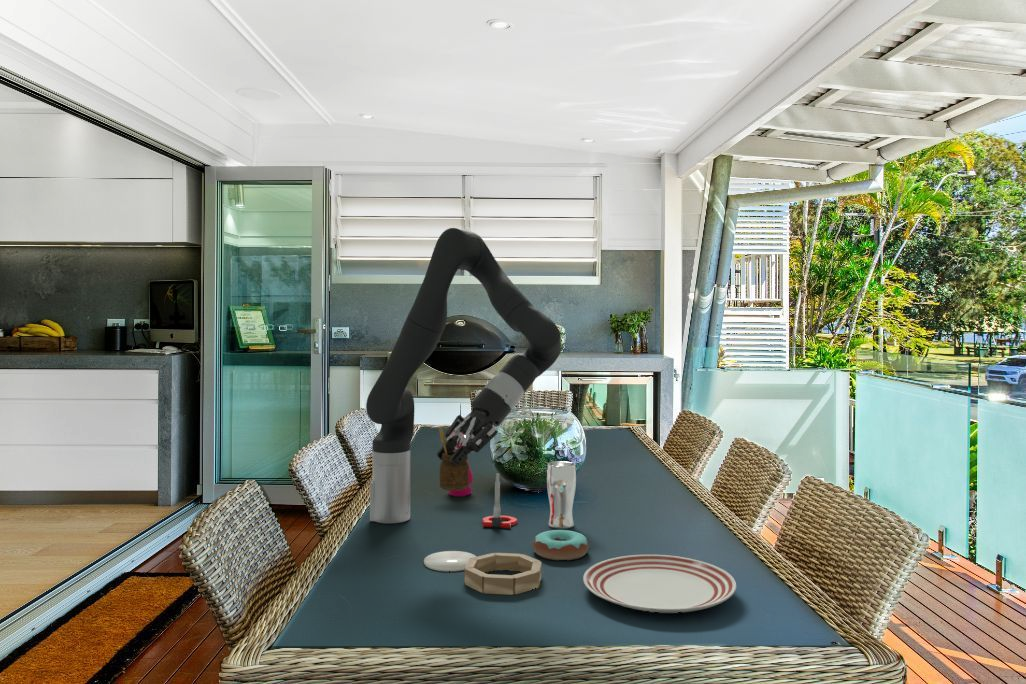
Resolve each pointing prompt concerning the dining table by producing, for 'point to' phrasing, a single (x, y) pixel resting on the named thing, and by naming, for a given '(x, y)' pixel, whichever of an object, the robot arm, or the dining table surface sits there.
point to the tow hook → (498, 512)
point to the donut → (560, 545)
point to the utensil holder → (453, 470)
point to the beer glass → (561, 493)
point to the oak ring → (503, 583)
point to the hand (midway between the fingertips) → (446, 460)
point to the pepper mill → (468, 490)
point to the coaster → (448, 560)
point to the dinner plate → (660, 583)
